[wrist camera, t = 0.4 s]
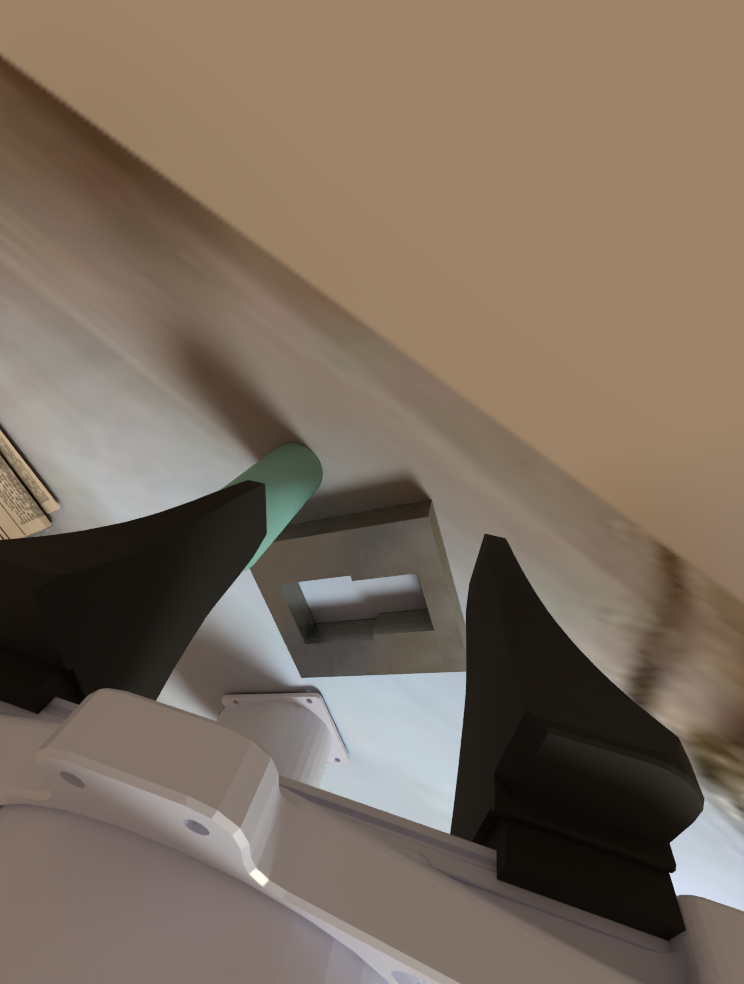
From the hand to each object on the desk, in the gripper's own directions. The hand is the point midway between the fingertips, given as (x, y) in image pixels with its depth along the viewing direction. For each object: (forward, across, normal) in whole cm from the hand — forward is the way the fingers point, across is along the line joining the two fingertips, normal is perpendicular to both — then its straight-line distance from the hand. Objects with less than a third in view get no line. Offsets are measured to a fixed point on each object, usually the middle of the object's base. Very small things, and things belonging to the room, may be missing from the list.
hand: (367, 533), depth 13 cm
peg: (+10, +7, +4) cm, 12 cm away
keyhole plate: (+9, +2, +12) cm, 15 cm away
